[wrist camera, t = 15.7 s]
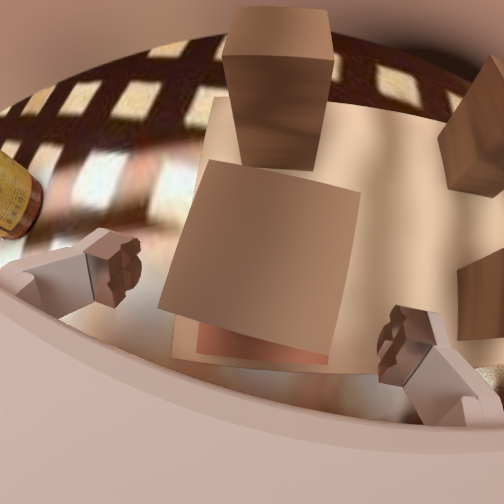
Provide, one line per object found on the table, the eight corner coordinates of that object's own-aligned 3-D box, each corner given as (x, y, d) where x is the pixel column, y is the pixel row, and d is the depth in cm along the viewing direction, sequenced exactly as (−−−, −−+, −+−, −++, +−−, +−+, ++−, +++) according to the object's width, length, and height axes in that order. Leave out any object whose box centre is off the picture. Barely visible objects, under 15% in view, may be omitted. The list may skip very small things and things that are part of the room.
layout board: (490, 147, 20) (550, 75, 10) (514, 360, 16) (619, 353, 5) (217, 109, 22) (189, -4, 12) (178, 356, 18) (77, 368, 8)
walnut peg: (318, 266, 17) (360, 192, 8) (298, 346, 16) (328, 355, 7) (240, 247, 17) (208, 159, 9) (217, 325, 16) (157, 308, 8)
